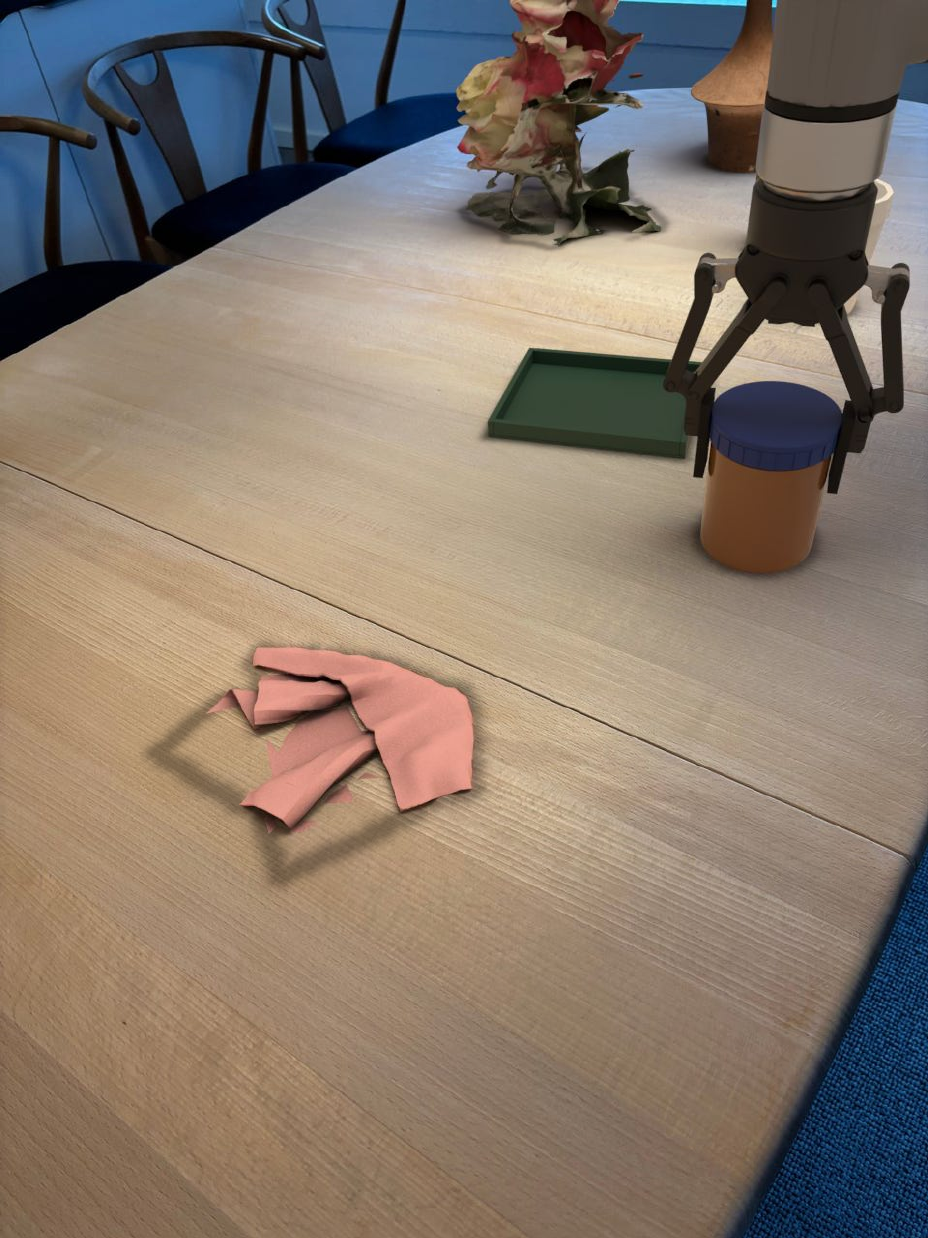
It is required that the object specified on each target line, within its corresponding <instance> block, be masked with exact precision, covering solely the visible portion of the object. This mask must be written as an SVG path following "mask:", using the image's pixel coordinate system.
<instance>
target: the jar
mask: <svg viewBox="0 0 928 1238" xmlns="http://www.w3.org/2000/svg"><path fill="white" fill-rule="evenodd" d="M832 457H833V454H831V455H830V456H829V457H828V458H827V459H825V460H824V461H822V462H820V463H818V464H816V465H813V466H810V467H806V468H802V469H795V470H784V471H783V470H778V471H777V470H765V469H758V468H753V467H749V466H746V465H743V464H740V463H737V462H735V461H733V460H731V459H729V458H727V457H726V456H724V455H723V454H721V453H720V452H719V451H718V450H717V449H716V448H715V447H714V445H713V444H712V442H711V441H710V443H709V452H708V461H707V462H708V463H707V472H706V480H705V488H704V497H703V505H702V514H701V522H700V524H701V525H700V532H699V540H700V543H701V545H702V547H703V549H704V550H705V552H706V553H707V554H708V555H709V556H710V557H711V558H712V559H714V560H715V561H717V562H719V563H720V564H722V565H724V566H726V567H728V568H731V569H734V570H738V571H741V572H746V573H753V574H772V573H773V574H774V573H779V572H783V571H786V570H789V569H792V568H794V567H796V566H798V565H799V564H801V563H802V562H804V561H805V560H806V559H807V557H808V556H809V555H810V553H811V550H812V546H813V544H814V543H813V542H814V538H815V533H816V528H817V524H818V520H819V515H820V511H821V506H822V502H823V497H824V493H825V488H826V484H827V480H828V476H829V470H830V465H831V461H832Z"/></svg>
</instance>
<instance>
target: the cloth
mask: <svg viewBox="0 0 928 1238" xmlns="http://www.w3.org/2000/svg"><path fill="white" fill-rule="evenodd" d="M252 658H253V659H252V666H253V667H257V666H259V667H264V668H269V669H272V670H276V671H279V672H280V671H281V672H284V673H281V674H272V675H263V676H262V675H261V676H260V680H258V691H254V690H247V689H240V688H231V689H228V691H227V692H226V693H225V694H224V696H223V697H222V698H221V699H220V700H219V701H218V702H217V704H215V705H214V706H213V707H211V708H210V709H209V710H208V711H207V712H206V714H211V713H214V712H219V711H223V710H227V709H231V708H235V707H240V708H241V710H242V711H243V713H244V715H245V717H246V719H247V721H248V723H249V724H250V725H251V727H252V728H253V730H256V729H258V728H260V727H261V726H263V725H270V724H277V723H283V722H287V721H291V720H293V719H296V718H299V717H300V716H302V715H304V714H306V713H309V712H311V711H313V712H311V713H309V714H308V715H305V717H303V718H301V719H299V720H298V721H297V722H296V723H295V724H294V726H293V727H292V728H291V730H290V731H289V732H288V734H287V735H286V736H285V738H284V739H283V740H282V745H281V747H280V749H279V751H278V750H277V748H276V747H275V746H274V745H273V744H272V742H271V741H270V740H269V739H268V737H267V736H266V737H265V738H266V746H267V751H268V758H269V765H270V772H271V778H270V779H268V780H267V781H266V782H264V783H263V784H260V785H259V786H257V787H256V788H255V789H253V790H251V791H249V793H248V794H247V795H246V797H245V798H244V799H243V800H242V802H241V803H239V805H240V806H242V807H253V806H254V807H256V808H258V809H261V810H263V811H265V812H266V814H265V816H264V817H263V820H264V823H265V826H266V829H267V834H270V833H271V832H272V831H273V830H274V829H275V827H276V819H277V820H278V821H280V822H281V823H283V824H284V825H285V826H286V827H288V828H289V829H290V830H289V831H290V832H291V833H292V834H298V833H302V832H305V831H307V830H308V829H309V828H311V827H312V826H314V825H315V824H316V823H318V822H319V821H320V820H319V819H316V820H313V819H312V820H310V819H308V820H302V819H303V818H304V816H306V814H307V813H308V812H309V811H310V810H311V809H312V807H313V806H314V805H315V804H316V803H317V801H319V799H320V798H321V797H322V796H323V795H324V794H325V792H326V791H327V790H328V789H329V788H331V787H332V786H334V785H335V784H337V783H338V782H339V781H341V780H342V779H344V778H345V777H346V776H348V775H349V774H351V773H352V772H353V771H355V770H356V769H358V767H360V766H362V765H363V764H364V763H365V762H367V761H368V760H369V759H371V758H372V757H373V756H374V755H376V754H377V753H378V752H379V755H380V758H381V761H382V763H383V766H384V767H385V769H386V771H387V772H388V774H389V776H388V777H386V778H385V779H386V780H388V781H390V782H391V786H392V789H393V791H394V794H395V801H396V803H397V805H398V809H399V811H400V813H401V812H404V811H406V810H409V809H412V808H414V807H418V806H421V805H423V804H425V803H428V802H429V801H431V800H434V799H436V798H439V797H442V796H447V795H451V794H453V793H457V792H459V791H464V790H472V788H473V786H472V780H473V774H474V764H473V763H474V761H473V753H474V748H475V747H474V746H475V737H474V727H473V725H474V717H473V716H474V714H473V712H472V709H471V707H470V705H469V704H470V703H469V696H468V695H466V694H465V693H464V692H463V691H461V690H460V689H459V688H458V687H453V686H445V685H443V684H440V683H438V682H436V681H435V680H434V679H433V678H429V677H426V676H422V675H419V674H416V673H415V672H413V671H411V670H408V669H406V668H404V667H401V666H400V665H396V664H394V663H393V662H390V661H386V660H382V659H375V658H372V657H370V656H366V655H360V654H344V653H341V652H339V651H334V650H329V649H328V650H326V649H313V650H312V649H308V648H303V647H295V646H294V647H293V646H289V647H288V646H287V647H286V646H285V647H257V648H256V649H255V652H254V655H253V657H252ZM349 699H350V700H351V704H352V706H353V709H354V710H355V713H356V715H357V717H358V719H360V721H361V722H362V723H363V725H364V726H365V728H366V730H362V729H361V728H360V726H359V724H358V722H357V721H356V719H355V717H354V715H353V714H352V712H351V711H350V708H349V707H348V706H344V707H338V708H333V707H336V706H338V705H340V704H341V705H342V703H344V702H346V701H347V700H349ZM329 708H333V709H329ZM326 709H327V710H326ZM369 779H381V777H380V776H378V775H374V774H372V773H368V772H364V773H363V774H362V775H360V776H359V777H358V778H357V780H369ZM340 803H355V800H354V797H353V795H352V793H351V791H350V789H349V786H348V784H344V785H342V786H341V787H340V788H339V789H337V790H335V791H334V792H332V793H331V794H329V796H328V797H327V798H326V799H325V800H324V801H323V804H340Z"/></svg>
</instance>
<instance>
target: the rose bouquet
mask: <svg viewBox="0 0 928 1238" xmlns="http://www.w3.org/2000/svg"><path fill="white" fill-rule="evenodd" d="M619 3H620V0H509V5H510V7H511V9H512V10H513V11H514V13H515V14H516V16H517V19H518V21H519V23H520V25H521V27H522V30H520V31H519V30H518V31H517V30H516V31H515V30H514V31H513V32H512V33H511V35H510V36H511V38H512V40H513V43H514V44H515V46H516V51H514V52H513V54H512V55H511V56H498V57H497V58H496V59H489V60H486V61H483V62H480V63H477V64H475V65H474V67H473V68H472V70H470V71H469V73H468V75H466V77H465V78H464V80H463V82H462V83H461V84H459V86H457V88H456V89H455V93H456V98H457V99H458V100H459V103H458V104H457V106H456V110H457V112H460V113H462V112H463V111H465V113H466V114H464V115H462V116H461V117H460V118H458V119H457V122H458V123H459V124H460V125H462V126H468V128H467V129H466V131H465V133H464V135H463V136H462V139H461V140H460V142H459V143H458V145H457V146H456V148H457V150H458V152H459V153H462V154H464V155H473V156H474V157H473V158H472V159H471V160H470V161H468V162H466V166H465V167H467V168H468V169H470V170H476V172H477V173H480V172H481V171H494V172H496V173H495V175H494V176H493V177H491V178H490V179H489V180H488V182H487V184H486V185H485V186H486V187H485V189H486V190H492V189H495V188H496V187H497V186H498V183H496V179H497V178H498V177H499V176H500V175H501V174H503V173H507V174H509V175H510V176H514V178H513V186H512V191H511V190H510V191H503V192H493V191H492V192H491V191H490V192H488V191H487V192H477V193H475V194H473V195H472V196H471V197H469V199H468V200H467V204H466V208H465V209H464V211H470V212H471V213H472V214H474V215H475V216H476V217H478V218H488V217H492V218H493V219H492V221H493V222H496V223H500V222H503V223H502V224H500V225H499V226H496V229H497V231H499V232H500V233H501V232H502V233H504V234H508V235H511V236H521V235H537V236H541V237H543V236H550V235H552V234H554V233H555V226H556V220H555V219H553V218H550V217H547V216H545V215H544V213H543V211H542V210H541V209H540V207H542V205H544V204H545V203H546V202H549V201H550V200H553V202H554V204H555V205H556V207H557V209H558V212H559V214H560V215H559V216H558V218H559V219H568V220H570V221H574V222H573V225H574V228H573V230H571V231H570V232H568V233H565V234H562V236H560V237H556V238H553V239H552V240H553V241H554V242H556V244H558V246H560V245H561V244H562V242H564V241H566V240H567V239H575V238H584V237H591V236H599V235H603V234H605V232H606V231H605V228H602V229H599V228H595V227H592V226H589V225H588V224H587V222H586V214H585V213H587V210H586V209H585V208H584V204H585V205H586V206H589V207H590V208H593V209H599V210H600V209H603V210H607V211H623V212H625V213H626V214H627V215H629V216H630V217H633V216H634V217H636V218H637V219H639V220H642V221H645V222H646V224H643V225H642V226H639V227H637V228H636V229H634V230H632V231H631V232H632V233H641V232H651V231H652V232H654V231H657V232H662V229H663V228H662V226H661V225H658V224H656V223H657V222H655V220H654V219H653V218H652V217H651V216H650V215H649V212H650V211H652V210H653V209H652V208H651V207H648V206H645V205H643V204H641V205H636V206H635V205H630V204H623V203H628V202H629V201H630V200H631V197H630V195H629V193H630V178H629V174H628V173H629V172H628V170H629V158H630V155H631V153H634V152H635V151H636V150H635V149H629V148H626V149H624V150H623V151H618V152H616V153H615V154H613V155H612V156H610V157H608V158H606V159H604V161H602V162H601V163H599V164H598V165H597V166H595V167H594V168H592V169H590V170H589V171H587V172H584V171H583V170H582V156H581V147H582V144H583V142H584V138H585V136H586V134H587V131H586V132H585V133H584V135H582V136H581V138H580V139H579V137H578V135H577V134H576V133H581V134H582V133H583V132H582V128H580V127H579V126H580V125H582V124H585V123H587V122H590V121H592V120H594V119H597V118H598V117H600V116H602V115H603V114H605V113H607V112H609V111H610V108H609V107H606V105H616V106H615V107H614V109H615V108H618V107H622V106H626V107H629V108H631V109H634V110H642V109H643V108H644V103H642V102H641V101H640V100H639V99H637V98H636V97H634V96H631V95H630V94H629V92H619V91H614V90H608V89H606V88H607V85H608V84H609V83H610V82H612V81H613V82H614V81H615V79H614V78H615V76H616V75H617V74H618V72H619V71H620V70H621V69H622V67H623V64H624V63H625V60H626V58H627V56H628V55H629V54H631V53H632V51H633V49H634V48H635V46H636V45H637V43H642V41H643V38H644V33H643V32H627V33H623V34H622V32H620V31H618V30H617V29H614V28H615V27H614V26H613V25H610V24H609V22H610V21H609V20H610V19H611V18H613V17H614V15H615V10H617V7H618V6H617V5H618V4H619ZM642 77H644V73H641V72H636V73H633V74H629V75H628V79H631V80H632V79H638V78H642ZM691 117H692V115H689V119H691ZM558 167H559V169H558ZM528 178H536V179H538V180H539V181H540V182H541V184H542V185H543V186H544V187H545V189H544V188H542V190H540V191H538V192H535V193H522V192H520V191H521V189H522V187H523V185H524V182H525V180H526V179H528ZM516 215H519V216H516Z"/></svg>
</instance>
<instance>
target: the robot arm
mask: <svg viewBox="0 0 928 1238" xmlns="http://www.w3.org/2000/svg"><path fill="white" fill-rule="evenodd" d="M920 64H928V0H776V4H775V14H774V23H773V40H772V49H771V58H770V67H769V76H768V84H767V91H766V96H765V103H764V104H763V111H762V119H761V127H760V135H759V144H758V152H757V160H756V172H755V174H756V173H757V174H758V176H759V177H760V179H759V180H758V181H757V182H756V183H755V182H754V184H753V186H752V192H751V193H752V194H751V200H750V206H749V207H750V208H749V215H748V223H747V232H746V239H745V246H744V248H742V250H741V252H740V253H739V255H738V257H728V258H717V257H716V255H715V254H714V253H712V252H705V253H703V254H702V255H701V256H700V257H699V259H698V262H697V265H696V268H695V271H694V275H693V291H694V292H693V296H694V297H693V300H692V304H691V305H690V308H689V311H688V314H687V316H686V319H685V322H684V325H683V328H682V330H681V332H680V336H679V338H678V341H677V344H676V347H675V349H674V352H673V354H672V356H671V362H670V365H669V368H668V370H667V373H666V376H665V379H664V382H663V388H664V390H665V391H667V392H670V393H672V392H678V393H680V394H682V395H683V396H684V397H685V399H686V410H685V420H684V432H685V435H689V436H691V437H696V446H695V454H694V455H695V456H694V463H693V465H694V466H693V473H692V475H693V476H692V477H693V478H696V479H704V475H705V470H706V466H707V464H708V463H707V462H708V459H709V451H710V443H711V441H710V437H709V426H710V418H711V410H712V406H713V403H714V402H715V400H716V390H717V387H713V385H714V383H715V382H716V381H717V380H718V379H719V377H720V376H721V375H722V373H724V371H725V370H726V368H727V367H728V366H729V364H730V363H731V362H732V360H733V359H734V358H735V356H736V355H737V354H738V352H739V351H740V350H741V349H742V347H743V346H744V345H745V343H746V342H747V341H748V340H749V338H750V337H751V336H752V335H754V334H755V333H756V332H757V330H758V329H759V327H760V326H761V325H762V323H763V322H764V321H765V320H766V321H767V324H769V325H784V324H790V323H792V324H795V325H798V326H801V327H808V328H810V327H811V328H816V325H817V324H819V327H820V329H821V331H822V333H823V336H824V338H825V339H824V340H826V341H827V342H828V345H829V347H830V350H831V352H832V355H833V357H834V361H835V363H836V366H837V368H838V371H839V373H840V376H841V378H842V381H843V383H844V386H845V388H846V391H847V394H848V396H849V399H850V400H849V399H844V403H843V409H842V415H843V417H842V426H841V430H840V435H839V439H838V443H837V447H836V449H835V451H834V452H833V454H832V457H831V461H830V466H829V470H828V475H827V489H826V494H831V495H838V493H839V488H840V484H841V481H842V475H843V472H844V468H845V464H846V459H847V454H848V453H851V454H861V453H863V451H864V449H865V447H866V443H867V440H868V436H869V432H870V428H871V423H872V422H873V421H874V419H875V416H877V415H879V414H880V413H881V414H882V413H886V412H887V413H889V414H898V413H900V412H901V411H902V410H903V409H904V405H905V386H904V385H905V384H904V359H903V357H904V356H903V333H902V332H903V331H902V310H903V307H904V305H905V301H906V300H907V296H908V293H909V291H910V286H911V278H910V277H911V275H910V273H911V272H910V266H909V265H908V264H907V263H905V262H897V263H895V264H893V266H891V267H886V266H878V265H873V264H870V263H869V264H868V260H867V258H866V254H865V249H866V244H867V240H868V235H869V230H870V226H871V221H872V216H873V212H874V207H875V202H876V198H877V193H878V188H877V186H876V185H875V183H874V181H875V180H876V179H879V178H880V177H881V175H882V174H883V170H884V165H885V160H886V156H887V151H888V147H889V142H890V138H891V134H892V129H893V124H894V118H895V114H896V110H897V104H898V100H899V95H900V91H901V88H902V87H901V86H902V82H903V79H904V75H905V71H906V67H907V66H909V65H920ZM731 279H736V281H737V282H738V284H739V286H740V288H741V289H742V290H743V292H744V294H745V295H746V297H747V299H746V300H745V302H744V303H743V304H742V306H741V309H740V310H739V312H737V315H736V316H735V317H734V319H733V320H732V321H731V322H730V324H729V326H728V327H727V328H726V329H725V331H724V332H723V333H722V335H721V336H720V337H719V338H718V339H717V342H716V343H715V344H714V346H713V347H712V349H711V350H709V353H708V354H707V355H706V357H705V358H704V359H703V360H702V361H701V362H702V363H701V365H700V366H699V367H698V369H697V370H696V371H694V372H693V373H692V372H690V371H688V370H686V368H687V365H688V362H689V361H691V357H692V355H693V353H694V350H695V347H696V345H697V341H698V339H699V336H700V334H701V332H702V329H703V326H704V324H705V321H706V319H707V315H708V313H709V311H710V308H711V304H712V301H713V298H714V295H715V294H720V293H722V292H723V291H724V290H725V289H726V285H727V283H728V281H730V280H731ZM864 286H866V287H868V288H869V289H870V290H871V299H872V301H873V302H874V303H876V304H878V305H880V337H881V355H882V356H881V357H882V376H883V378H882V379H883V386H881V387H877V388H874V386H873V384H872V381H871V378H870V375H869V373H868V370H867V367H866V364H865V361H864V360H863V357H862V354H861V351H860V349H859V346H858V343H857V340H856V337H855V334H854V332H853V330H852V327H851V324H850V321H849V318H848V314H847V313H846V309H845V307H844V304H845V303H846V302H847V301H848V300H849V299H850V298H851V297H852V296H853V295H854V294H855V293H856V292H857V291H858V290H860V291H861V289H862V288H863V287H864Z"/></svg>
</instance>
